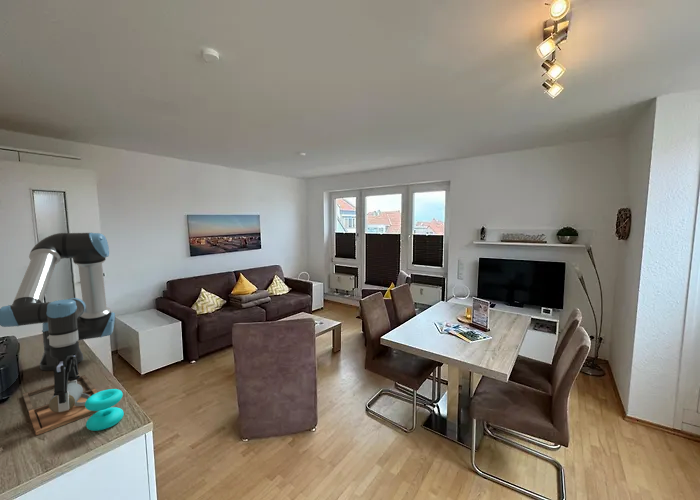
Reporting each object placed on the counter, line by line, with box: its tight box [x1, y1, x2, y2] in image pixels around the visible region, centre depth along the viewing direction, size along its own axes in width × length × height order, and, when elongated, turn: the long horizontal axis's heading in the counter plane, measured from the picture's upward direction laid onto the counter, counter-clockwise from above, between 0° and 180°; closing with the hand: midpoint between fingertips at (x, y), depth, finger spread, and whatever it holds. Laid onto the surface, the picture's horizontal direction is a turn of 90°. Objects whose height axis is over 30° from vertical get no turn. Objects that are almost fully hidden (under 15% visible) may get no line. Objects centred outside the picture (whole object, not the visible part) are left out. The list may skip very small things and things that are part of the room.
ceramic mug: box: [48, 382, 90, 413], centre depth 108 cm, size 11×8×8 cm
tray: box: [22, 374, 99, 436], centre depth 113 cm, size 35×18×1 cm, turn 53°
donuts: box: [85, 388, 125, 432], centre depth 101 cm, size 10×10×10 cm
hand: (68, 403), depth 107 cm, fingers closed on ceramic mug, 8 cm apart
